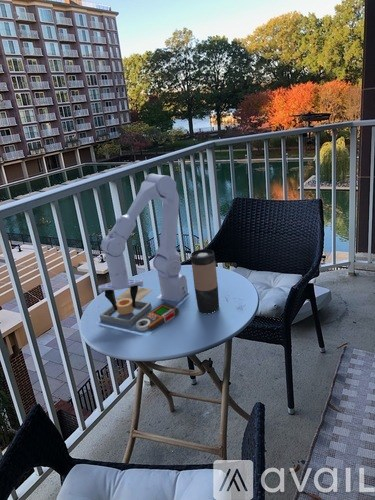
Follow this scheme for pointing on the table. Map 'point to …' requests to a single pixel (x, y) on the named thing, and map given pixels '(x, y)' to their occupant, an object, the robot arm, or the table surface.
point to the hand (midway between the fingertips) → (125, 307)
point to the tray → (129, 323)
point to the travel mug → (205, 280)
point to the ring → (124, 306)
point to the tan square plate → (140, 294)
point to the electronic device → (157, 317)
